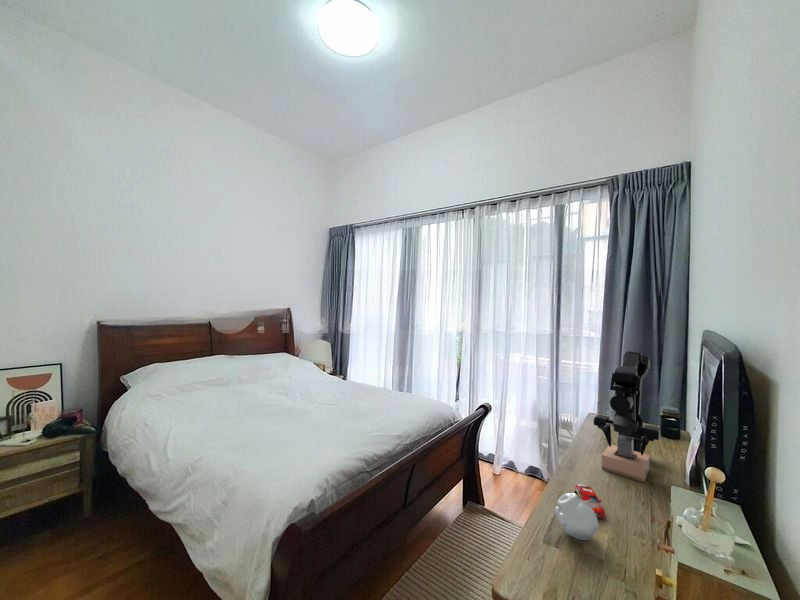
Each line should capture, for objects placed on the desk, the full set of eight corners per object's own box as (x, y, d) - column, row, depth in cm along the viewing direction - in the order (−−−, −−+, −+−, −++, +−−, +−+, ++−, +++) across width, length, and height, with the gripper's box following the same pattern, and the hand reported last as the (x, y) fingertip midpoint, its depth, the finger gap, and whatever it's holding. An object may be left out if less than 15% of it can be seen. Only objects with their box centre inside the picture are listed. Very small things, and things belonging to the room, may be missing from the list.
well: (609, 457, 119) (609, 444, 119) (649, 469, 111) (649, 455, 111) (601, 469, 111) (601, 454, 111) (644, 482, 102) (644, 467, 103)
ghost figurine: (562, 517, 85) (562, 480, 85) (602, 536, 78) (602, 496, 78) (548, 533, 79) (548, 493, 79) (591, 556, 72) (591, 512, 72)
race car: (607, 523, 84) (607, 508, 84) (584, 519, 85) (584, 504, 85) (592, 494, 96) (592, 481, 96) (573, 491, 98) (573, 478, 98)
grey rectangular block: (619, 462, 114) (619, 434, 114) (633, 466, 111) (633, 437, 111) (617, 466, 111) (617, 437, 111) (631, 470, 108) (631, 441, 108)
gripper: (589, 405, 112) (589, 449, 112) (656, 419, 99) (656, 468, 99) (597, 398, 120) (597, 439, 120) (660, 410, 107) (660, 456, 107)
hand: (625, 450), depth 111 cm, fingers open, 9 cm apart
